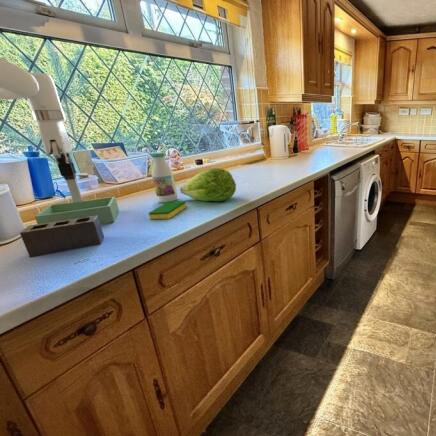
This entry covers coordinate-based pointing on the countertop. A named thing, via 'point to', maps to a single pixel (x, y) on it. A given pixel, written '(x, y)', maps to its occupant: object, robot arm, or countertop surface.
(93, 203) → the green tray
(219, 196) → the lettuce
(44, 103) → the robot arm
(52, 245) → the knife rack
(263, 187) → the countertop surface
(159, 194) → the milk bottle
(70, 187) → the knife
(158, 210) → the dish sponge
